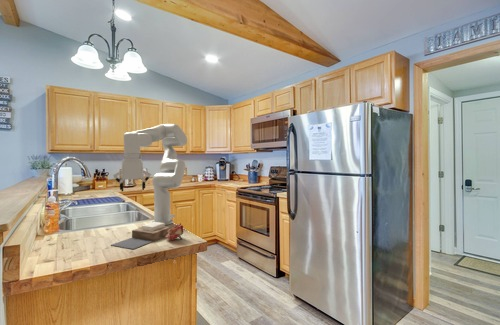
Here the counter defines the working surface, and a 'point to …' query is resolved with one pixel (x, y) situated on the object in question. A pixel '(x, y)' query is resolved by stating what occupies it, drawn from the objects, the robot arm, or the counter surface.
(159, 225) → the tile
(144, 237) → the block
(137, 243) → the mat
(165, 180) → the robot arm
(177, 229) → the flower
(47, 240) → the counter surface
